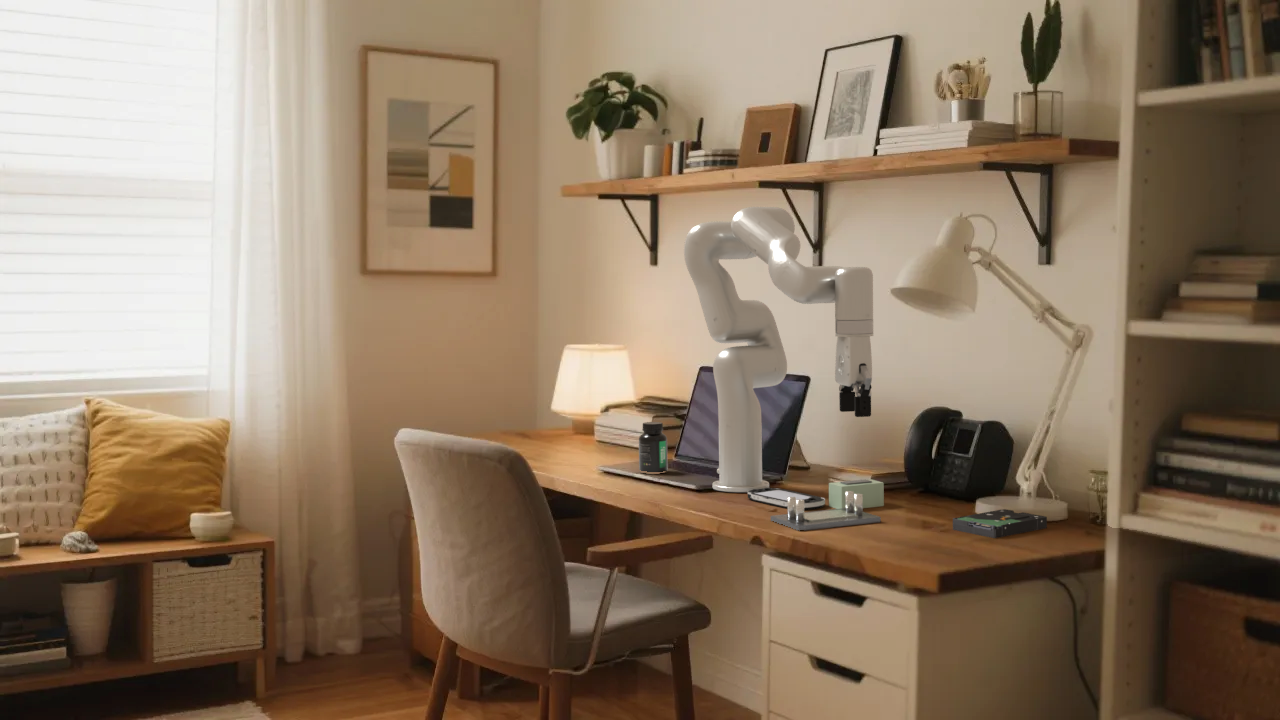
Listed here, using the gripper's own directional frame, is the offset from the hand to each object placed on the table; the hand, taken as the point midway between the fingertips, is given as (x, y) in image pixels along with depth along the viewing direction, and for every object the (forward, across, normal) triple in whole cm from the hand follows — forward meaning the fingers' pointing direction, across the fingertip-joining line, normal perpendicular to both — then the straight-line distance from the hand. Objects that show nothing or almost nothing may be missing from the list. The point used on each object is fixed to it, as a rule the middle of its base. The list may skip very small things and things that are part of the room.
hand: (855, 413), depth 268 cm
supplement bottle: (+19, -58, -32) cm, 69 cm away
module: (+20, -4, +2) cm, 20 cm away
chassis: (+20, +10, -9) cm, 24 cm away
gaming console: (+20, -12, -12) cm, 26 cm away
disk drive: (+20, +24, +20) cm, 37 cm away
